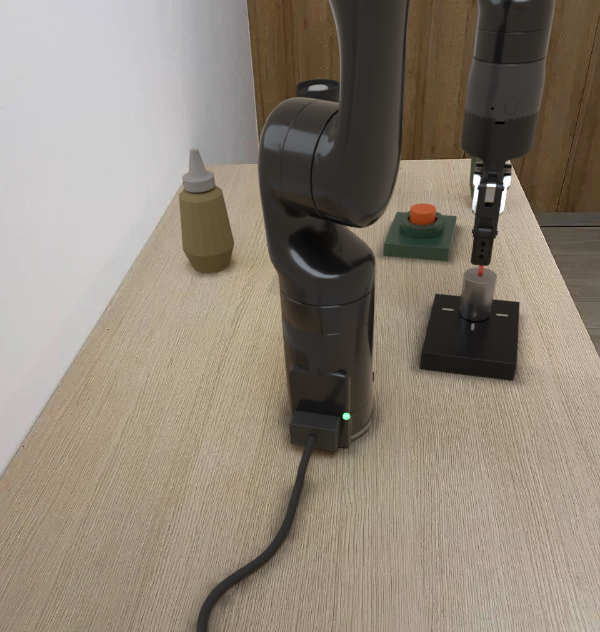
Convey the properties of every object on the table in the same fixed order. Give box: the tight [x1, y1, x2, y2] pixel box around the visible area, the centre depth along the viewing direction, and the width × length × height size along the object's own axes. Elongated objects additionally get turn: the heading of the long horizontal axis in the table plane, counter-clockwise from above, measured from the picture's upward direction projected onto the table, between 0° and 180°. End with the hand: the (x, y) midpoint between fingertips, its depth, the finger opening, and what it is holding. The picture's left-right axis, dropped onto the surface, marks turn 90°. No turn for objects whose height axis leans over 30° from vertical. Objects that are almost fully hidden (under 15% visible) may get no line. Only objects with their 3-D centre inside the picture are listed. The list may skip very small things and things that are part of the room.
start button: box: [409, 202, 437, 225], centre depth 101 cm, size 4×4×2 cm
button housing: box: [383, 210, 458, 262], centre depth 103 cm, size 12×10×4 cm
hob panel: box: [419, 293, 521, 382], centre depth 81 cm, size 14×11×3 cm
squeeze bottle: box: [178, 148, 235, 274], centre depth 95 cm, size 8×8×18 cm
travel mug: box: [295, 78, 340, 103], centre depth 112 cm, size 8×8×20 cm
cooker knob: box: [459, 265, 498, 321], centre depth 81 cm, size 4×4×6 cm
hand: (482, 246), depth 77 cm, fingers open, 8 cm apart
